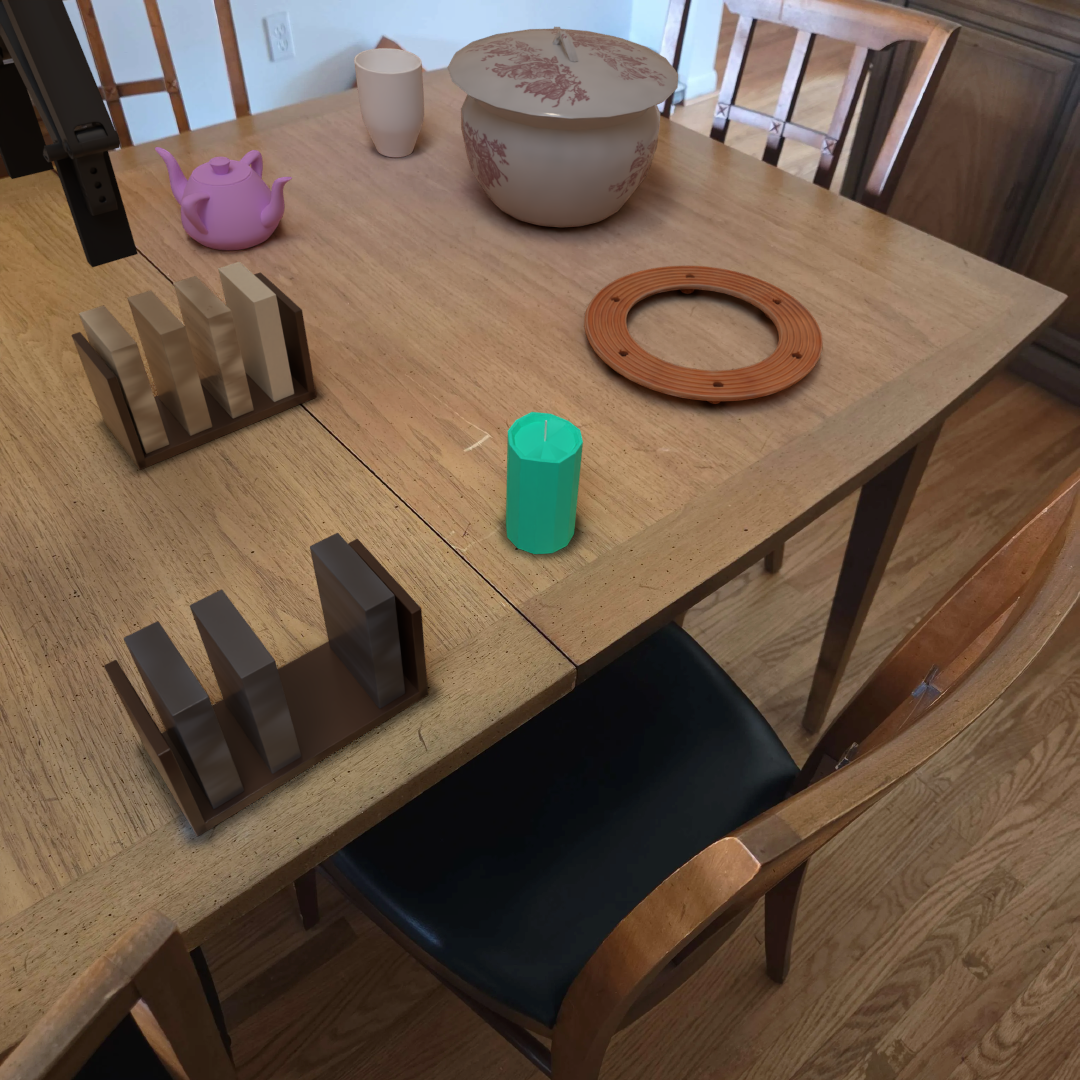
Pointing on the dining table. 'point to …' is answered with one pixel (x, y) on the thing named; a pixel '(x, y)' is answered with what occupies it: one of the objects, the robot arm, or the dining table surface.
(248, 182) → the teapot
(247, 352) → the cream book
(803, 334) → the ring
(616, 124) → the chamber pot
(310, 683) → the grey rack
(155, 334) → the cream rack
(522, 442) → the candle
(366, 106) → the mug
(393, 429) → the dining table surface
